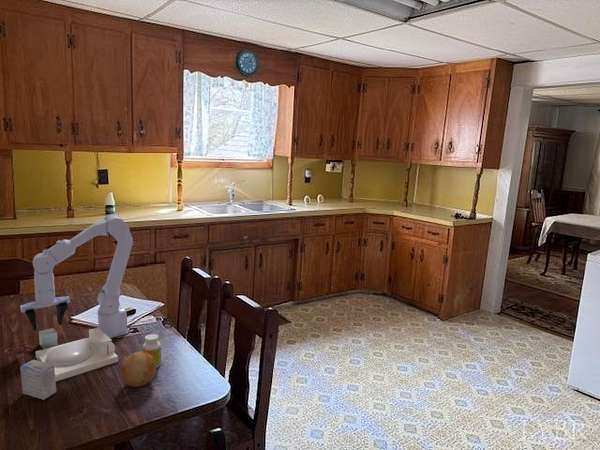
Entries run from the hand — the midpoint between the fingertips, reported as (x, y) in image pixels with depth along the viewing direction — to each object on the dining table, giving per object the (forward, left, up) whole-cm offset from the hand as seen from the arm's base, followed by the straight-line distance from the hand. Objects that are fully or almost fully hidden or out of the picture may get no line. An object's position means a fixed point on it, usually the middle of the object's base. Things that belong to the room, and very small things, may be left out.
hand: (47, 326), depth 148 cm
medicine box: (+10, +29, -7) cm, 31 cm away
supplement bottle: (-21, +34, -7) cm, 41 cm away
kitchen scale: (-4, +16, -7) cm, 18 cm away
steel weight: (0, 0, -7) cm, 7 cm away
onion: (-13, +42, -7) cm, 45 cm away
